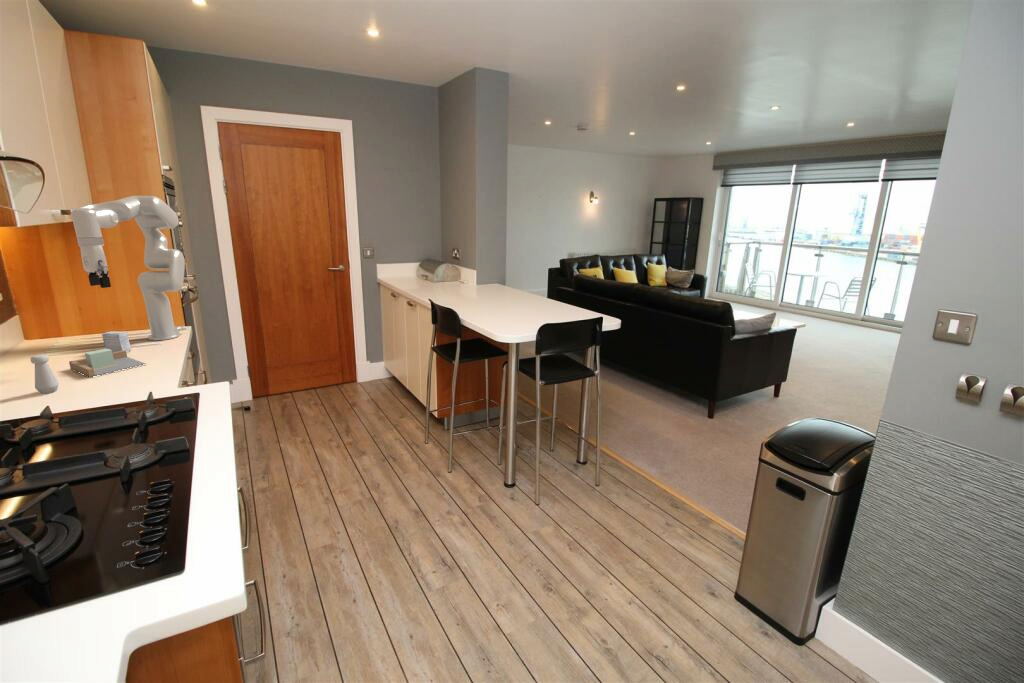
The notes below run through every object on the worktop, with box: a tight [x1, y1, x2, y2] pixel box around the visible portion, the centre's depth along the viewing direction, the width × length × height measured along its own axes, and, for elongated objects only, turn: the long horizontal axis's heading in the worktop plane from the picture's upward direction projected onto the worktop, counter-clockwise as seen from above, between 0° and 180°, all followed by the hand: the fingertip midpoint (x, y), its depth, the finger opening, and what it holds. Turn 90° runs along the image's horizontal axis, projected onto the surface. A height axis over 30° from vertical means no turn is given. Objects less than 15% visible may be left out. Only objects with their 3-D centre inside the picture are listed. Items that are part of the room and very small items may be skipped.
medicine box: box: [101, 330, 132, 353], centre depth 209 cm, size 8×4×9 cm, turn 84°
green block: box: [84, 348, 115, 369], centre depth 188 cm, size 4×7×6 cm, turn 149°
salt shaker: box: [30, 353, 59, 395], centre depth 163 cm, size 6×6×13 cm
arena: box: [68, 350, 147, 378], centre depth 190 cm, size 18×18×3 cm
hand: (100, 286), depth 191 cm, fingers open, 9 cm apart
